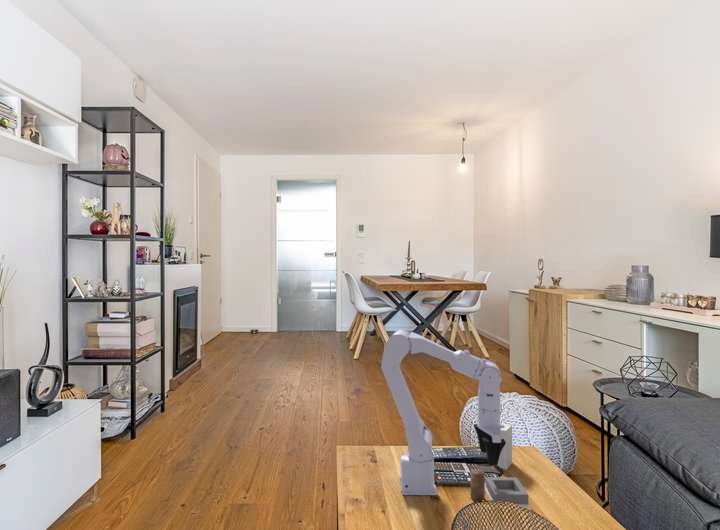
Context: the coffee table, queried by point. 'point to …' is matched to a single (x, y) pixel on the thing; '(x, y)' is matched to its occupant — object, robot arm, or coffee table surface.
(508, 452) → the skincare box
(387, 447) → the coffee table surface
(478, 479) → the walnut peg
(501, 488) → the socket board
